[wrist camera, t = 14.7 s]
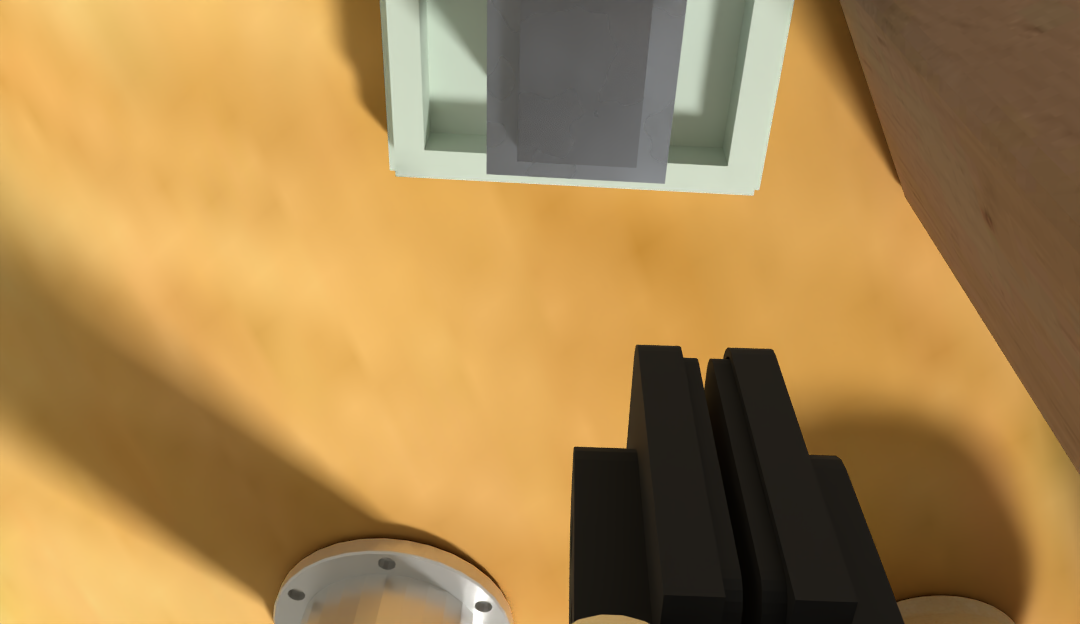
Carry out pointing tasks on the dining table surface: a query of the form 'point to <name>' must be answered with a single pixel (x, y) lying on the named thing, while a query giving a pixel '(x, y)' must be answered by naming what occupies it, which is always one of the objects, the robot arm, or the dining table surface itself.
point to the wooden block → (992, 166)
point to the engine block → (582, 87)
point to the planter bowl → (950, 611)
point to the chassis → (693, 166)
